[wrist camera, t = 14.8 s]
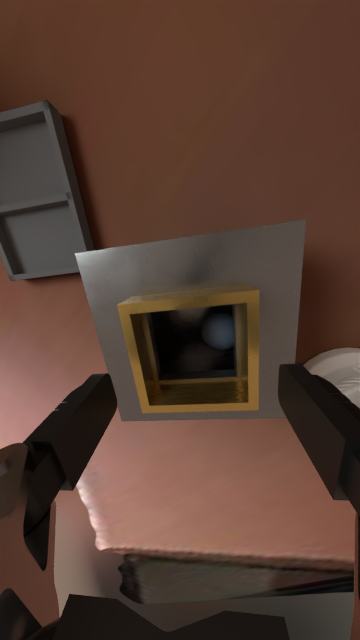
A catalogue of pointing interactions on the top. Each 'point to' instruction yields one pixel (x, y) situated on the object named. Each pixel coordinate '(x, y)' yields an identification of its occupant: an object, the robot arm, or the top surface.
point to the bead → (218, 331)
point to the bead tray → (39, 195)
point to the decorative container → (339, 370)
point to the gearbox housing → (198, 321)
